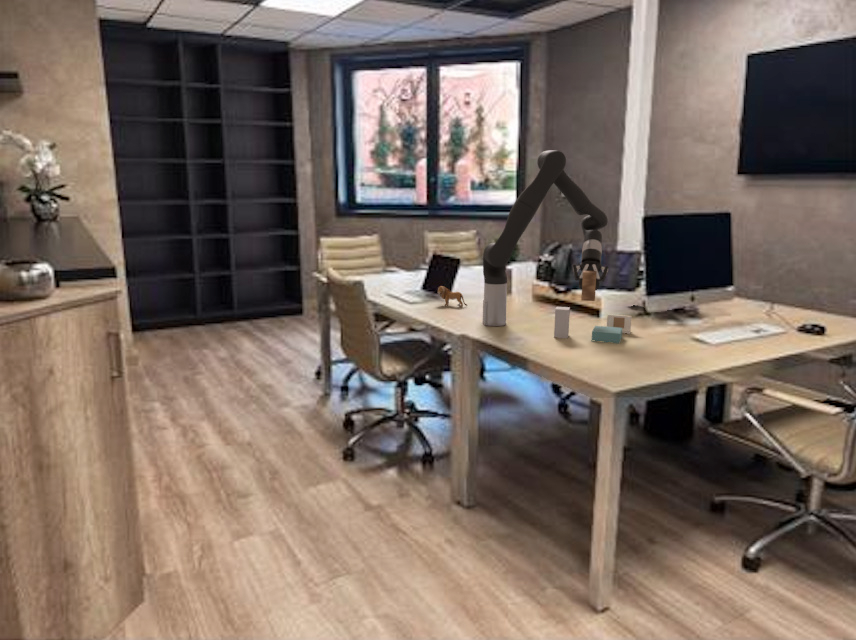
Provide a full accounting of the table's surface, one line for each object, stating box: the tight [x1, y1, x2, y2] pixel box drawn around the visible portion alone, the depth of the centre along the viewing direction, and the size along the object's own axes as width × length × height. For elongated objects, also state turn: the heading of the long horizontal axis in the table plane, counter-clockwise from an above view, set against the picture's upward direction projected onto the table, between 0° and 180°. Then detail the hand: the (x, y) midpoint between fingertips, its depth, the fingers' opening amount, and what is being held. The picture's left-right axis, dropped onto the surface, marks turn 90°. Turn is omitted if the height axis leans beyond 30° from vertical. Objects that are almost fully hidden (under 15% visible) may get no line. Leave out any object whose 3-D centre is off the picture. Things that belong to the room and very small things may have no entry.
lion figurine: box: [437, 285, 469, 308], centre depth 302 cm, size 15×5×9 cm, turn 71°
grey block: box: [553, 306, 571, 339], centre depth 244 cm, size 5×5×11 cm
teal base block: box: [591, 325, 623, 344], centre depth 241 cm, size 10×10×4 cm
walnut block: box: [580, 271, 597, 302], centre depth 250 cm, size 5×5×11 cm
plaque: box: [606, 314, 632, 335], centre depth 252 cm, size 9×4×7 cm, turn 74°
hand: (588, 288), depth 248 cm, fingers closed on walnut block, 5 cm apart
